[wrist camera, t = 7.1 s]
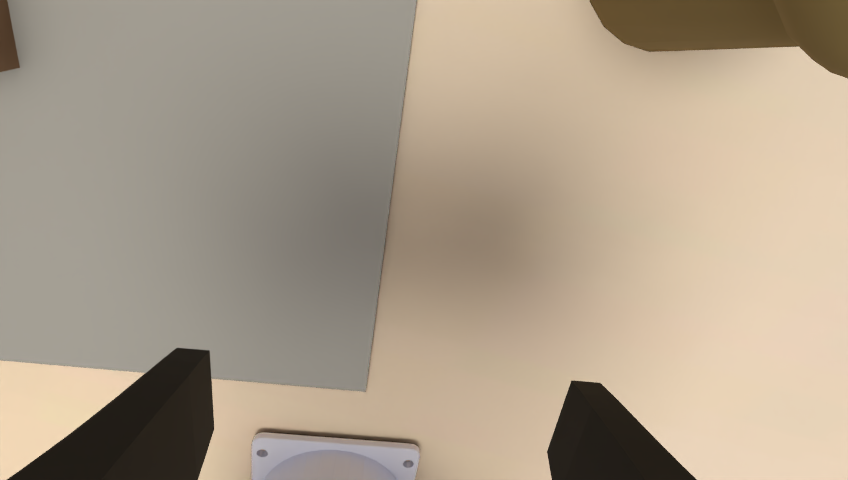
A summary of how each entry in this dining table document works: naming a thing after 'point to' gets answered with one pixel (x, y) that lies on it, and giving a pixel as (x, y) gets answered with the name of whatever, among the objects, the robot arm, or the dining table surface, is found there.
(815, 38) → the olive pawn
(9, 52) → the tower bottom
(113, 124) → the mat
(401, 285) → the dining table surface
